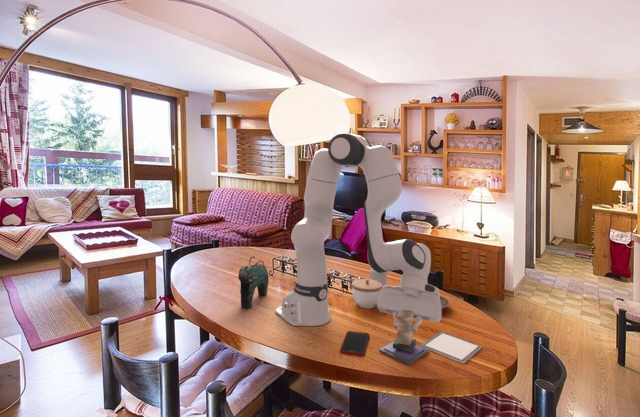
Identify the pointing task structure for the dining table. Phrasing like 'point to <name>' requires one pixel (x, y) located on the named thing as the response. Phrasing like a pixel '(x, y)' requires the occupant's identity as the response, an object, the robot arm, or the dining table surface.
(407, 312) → the stamp
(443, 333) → the marked square
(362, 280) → the lidded bowl
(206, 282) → the dining table surface
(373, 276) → the can
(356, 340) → the cell phone
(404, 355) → the ink pad
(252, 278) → the green elephant figure
